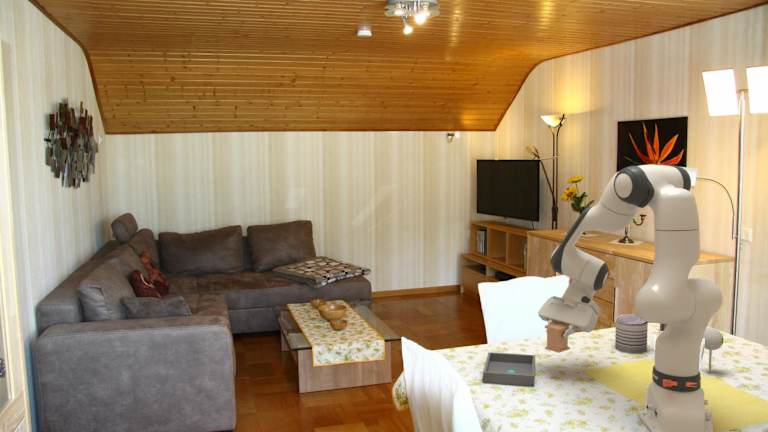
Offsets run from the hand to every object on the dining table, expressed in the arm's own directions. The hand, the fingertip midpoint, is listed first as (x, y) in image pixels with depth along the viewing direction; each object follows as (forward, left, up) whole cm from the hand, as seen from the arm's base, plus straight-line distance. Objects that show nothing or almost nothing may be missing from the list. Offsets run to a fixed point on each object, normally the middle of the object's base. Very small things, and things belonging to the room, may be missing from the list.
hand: (556, 335), depth 206 cm
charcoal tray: (0, +15, -14) cm, 20 cm away
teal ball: (-6, +14, -12) cm, 19 cm away
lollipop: (+14, -49, -14) cm, 53 cm away
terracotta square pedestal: (+1, -1, -5) cm, 5 cm away
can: (+34, -27, -14) cm, 46 cm away
